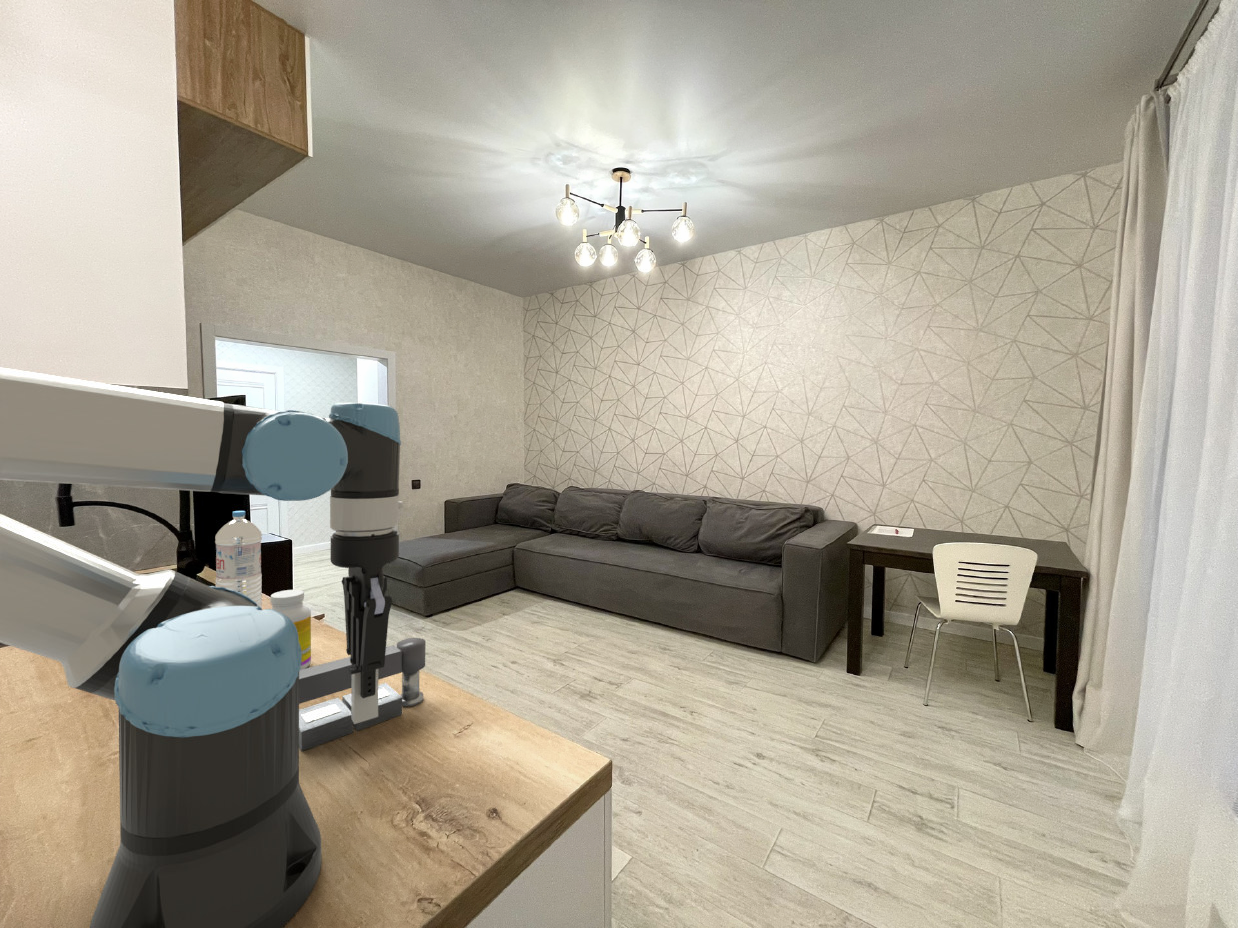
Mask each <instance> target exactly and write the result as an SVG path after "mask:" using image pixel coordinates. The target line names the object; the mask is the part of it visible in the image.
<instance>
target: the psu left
mask: <svg viewBox="0 0 1238 928" xmlns="http://www.w3.org/2000/svg"><path fill="white" fill-rule="evenodd" d="M339 697H340V696H339ZM339 697H336V698H332V699H329V700H326V701H323V702H320V703H317V704H312V705H310V706H307V707H305V708H301V709H300V708H299V751H301V752H304V751H306V750H310V749H312V748H314V747H317V746H318V747H319V746H320V745H323V744H326V743H328V742H332V741H334V740H336V739H339V738H343V737H344V736H347V735H348V736H349V735H350V734H353V733H354V727H353V721H352V719H351V711H350V710H349V709H348V708H347V706H346V705H345V704H344V703H343V702H342V700H341V699H340V698H339Z"/></svg>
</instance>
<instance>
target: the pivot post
mask: <svg viewBox="0 0 1238 928" xmlns="http://www.w3.org/2000/svg"><path fill="white" fill-rule="evenodd" d="M401 676H402V677H401V686H402V687H401V694H399V695H400V696H401V697H402V708H404V707H406V708H407V707H414V706H417V705H419V704H420V703H422V702H423V701H424V693H423V692H422V691H420V670H419V671H415V672H410V673H403V672H401Z"/></svg>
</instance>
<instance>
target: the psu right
mask: <svg viewBox="0 0 1238 928" xmlns="http://www.w3.org/2000/svg"><path fill="white" fill-rule="evenodd" d="M400 695H401V694H399V693H398V692H397V691H396V690H395V689H394V688H393V687H391V685H390V684H388V683H387V682H383V683H380V684H378V717H375V718H372V719H369V720H366V721H363V722H360V723H356V724H354V723H353V729H355V731H357V732H358V731H361V730H363V729H367V728H369V727H372V726H375V725H377V724H381V723H384V722H385V721H388V720H391V719H394V718H398V717H400V716H402V715H403V706H402V697H401V696H400ZM341 697H342V700H341V701H342V702H343V703H344V704H345V705H346V706H347V708H348V709H349V710H350V711H351V693H348V694H345V695H342V696H341Z"/></svg>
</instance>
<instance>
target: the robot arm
mask: <svg viewBox="0 0 1238 928" xmlns="http://www.w3.org/2000/svg"><path fill="white" fill-rule="evenodd" d="M399 418H400V417H399V413H398V411H397V410H396V409H395V407H392V406H390V405H387V404H379V403H365V402H364V403H362V402H361V403H359V402H336V403H334V404H333V405H332V406H331V407H330V413H329V414H328V417H322V418H321V417H320V416H317V415H316V414H314V413H309V412H305V411H298V410H291V409H290V410H284V411H280V410H276V409H275V410H273V409H267V408H262V407H261V408H260V407H255V406H249V405H248V406H247V405H242V404H232V403H225V402H223V401H219V400H210V399H206V398H205V399H204V398H197V397H192V396H185V395H181V394H180V395H178V394H173V393H165V392H160V391H159V392H158V391H154V390H147V389H140V388H134V387H128V386H123V385H115V384H108V383H101V382H96V381H89V380H82V379H77V378H70V377H64V376H57V375H52V374H51V375H50V374H45V373H39V372H38V373H37V372H33V371H24V370H19V369H13V368H6V367H0V481H1V480H2V481H15V482H16V481H18V482H33V483H50V484H51V483H53V484H67V485H68V484H71V485H72V484H73V485H89V486H92V485H93V486H107V487H123V488H139V489H140V488H142V489H155V490H156V489H157V490H158V489H159V490H175V491H190V492H191V491H193V492H211V493H220V494H232V495H233V494H234V495H252V496H266V497H269V498H271V499H274V500H277V501H283V502H290V501H291V502H292V501H293V502H295V501H296V502H302V501H303V502H304V501H309V500H312V499H315V498H318V497H321V496H323V495H325V494H326V493H328V492H330V495H329V525H330V526H329V528H330V529H331V530H332V531H335V532H333V533H332V535H330V562H331V564H332V565H334V566H335V567H338V568H345V569H348V572H347V573H348V576H342V580H341V584H342V590H343V597H344V599H343V601H344V617H345V635H346V636H345V637H346V649H345V650H346V655H348V656H350V657H351V658H350V663H351V665H355V666H354V667H350V668H349V672H350V674H351V675H352V684H351V688H350V689H351V693H350V694H351V719H352V721H353V723H354V724H356V723H360V722H363V721H366V720H369V719H372V718H375V717H378V685H379V680H378V669H379V668H383V667H384V664H385V653H386V647H387V640H388V629H389V618H390V611H391V607H392V604H393V598H392V596H391V595H385V593H386V591H387V588H388V579H387V577H386V576H384V571H383V568H384V566H385V565H387V564H392V563H394V562H396V561H397V560H398V559H399V556H400V532H398V530H397V529H395V528H397V527H398V525H399V524H400V523H399V521H400V520H399V518H400V517H399V516H400V513H399V510H400V509H402V508H403V507H404V503H403V501H402V500H401V501H400V461H401V460H400V459H401V458H400V457H401V445H402V441H401V429H400V428H401V427H400V426H401V425H400V419H399ZM0 643H1V644H3V645H6V646H10V647H14V648H16V649H19V650H23V651H26V652H29V653H31V654H35V655H38V656H41V657H44V658H48V659H50V660H53V661H56V662H60V664H61V666H62V667H63V670H64V674H65V678H66V683H67V686H68V687H69V688H73V689H76V690H78V691H79V690H80V691H81V692H85V693H89V694H93V695H96V696H99V697H102V698H105V699H109V700H112V701H115V704H116V706H117V708H118V757H119V758H118V759H119V762H118V763H119V771H118V772H119V819H120V824H119V825H120V830H119V831H120V841H119V843H120V844H119V847H118V849H117V851H116V855H115V857H114V860H113V863H112V865H111V868H110V870H109V873H108V875H107V878H106V880H105V884H104V886H103V889H102V891H101V893H100V896H99V899H98V900H97V901H98V902H97V905H96V906H95V907H96V908H95V910H94V911H93V914H92V917H91V921H90V924H89V928H282V927H284V926H285V925H286V924H287V923H288V922H289V921H290V920H291V919H292V918H293V917H294V916H295V914H296V913H297V912H298V911H299V909H301V907H302V906H303V904H304V903H306V901H307V899H308V898H309V896H310V894H311V893H312V891H313V890H314V887H315V886H316V885H317V884H316V883H317V881H318V879H319V876H320V871H321V868H322V836H321V831H320V828H319V826H318V823H317V821H316V818H315V816H314V814H313V812H312V810H311V808H310V807H311V806H310V804H309V803H308V801H307V798H306V796H305V793H304V792H303V789H302V787H301V785H300V779H299V778H300V748H299V710H300V704H299V671H300V668H301V658H302V654H301V647H300V644H299V641H298V632H297V629H296V626H295V625H294V623H293V622H292V621H291V619H290V618H288V617H287V616H286V615H284V614H282V613H280V612H278V611H275V610H272V608H265V609H263V608H262V609H261V608H260V607H259V606H257V603H255V602H254V601H253V600H252V599H250V598H249V597H247V596H246V595H244V594H242V593H240V592H237V591H235V590H231V589H227V588H224V587H216V586H214V585H207V584H205V583H202V582H201V581H198V580H196V579H194V578H191V577H189V576H186V575H184V574H182V573H180V572H177V571H176V570H172V569H171V568H170V569H165V570H161V571H155V572H150V573H137V572H136V571H135V572H134V571H132V570H131V569H128V568H126V567H123V566H121V565H119V564H117V563H115V562H112V561H109V560H107V559H105V558H103V557H100V556H99V555H95V554H93V553H91V552H89V551H88V550H84V549H82V548H79V547H77V546H75V545H73V544H71V543H69V542H66V541H64V540H62V539H59V538H57V537H55V536H52V535H50V534H49V533H48V534H47V533H45V532H43V531H42V530H41V531H40V530H38V529H37V528H33V527H32V526H29V525H27V524H25V523H22V522H21V521H17V520H15V519H13V518H11V517H9V516H7V515H4V514H2V513H0Z"/></svg>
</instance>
